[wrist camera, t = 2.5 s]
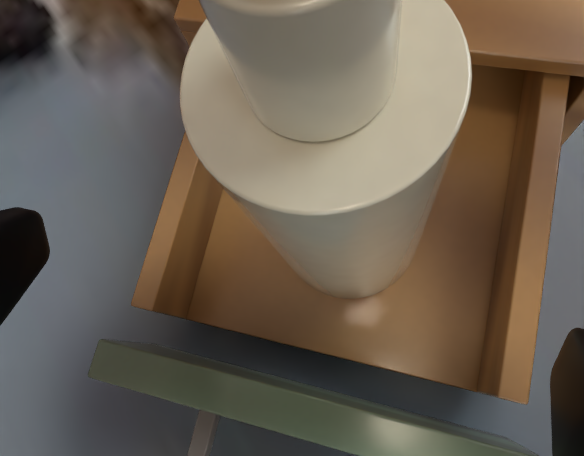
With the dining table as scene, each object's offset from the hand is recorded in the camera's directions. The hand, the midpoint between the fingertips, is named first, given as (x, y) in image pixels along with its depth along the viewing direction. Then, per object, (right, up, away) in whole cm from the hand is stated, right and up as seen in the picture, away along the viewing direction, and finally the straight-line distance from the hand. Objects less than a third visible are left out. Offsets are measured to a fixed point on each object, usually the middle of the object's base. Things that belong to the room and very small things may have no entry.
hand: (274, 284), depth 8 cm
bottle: (+2, +1, +10) cm, 11 cm away
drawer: (+2, -1, +11) cm, 11 cm away
